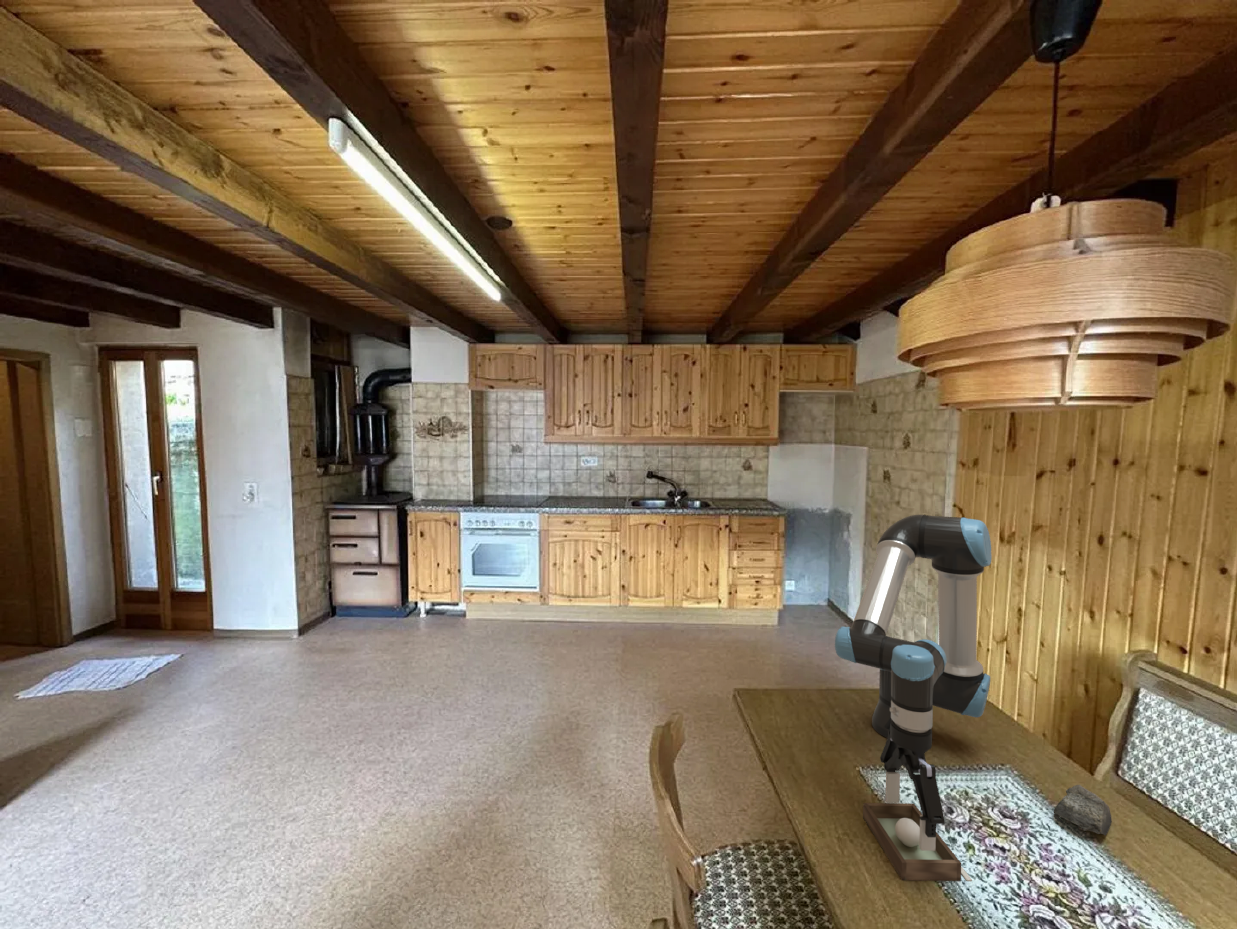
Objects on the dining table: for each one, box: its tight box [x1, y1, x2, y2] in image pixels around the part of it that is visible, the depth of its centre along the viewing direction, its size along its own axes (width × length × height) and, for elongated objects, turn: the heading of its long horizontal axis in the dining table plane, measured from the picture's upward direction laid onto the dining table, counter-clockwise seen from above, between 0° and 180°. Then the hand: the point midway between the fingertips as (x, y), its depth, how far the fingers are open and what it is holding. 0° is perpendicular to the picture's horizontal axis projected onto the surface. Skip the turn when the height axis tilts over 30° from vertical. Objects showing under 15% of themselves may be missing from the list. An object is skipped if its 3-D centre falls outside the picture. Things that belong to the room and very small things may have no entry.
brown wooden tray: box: [862, 802, 962, 882], centre depth 110 cm, size 11×17×4 cm, turn 179°
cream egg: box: [895, 818, 920, 847], centre depth 110 cm, size 5×5×5 cm
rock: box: [1053, 784, 1113, 836], centre depth 117 cm, size 13×9×6 cm, turn 128°
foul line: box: [961, 866, 973, 882], centre depth 110 cm, size 1×17×1 cm, turn 179°
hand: (908, 824), depth 110 cm, fingers open, 13 cm apart
